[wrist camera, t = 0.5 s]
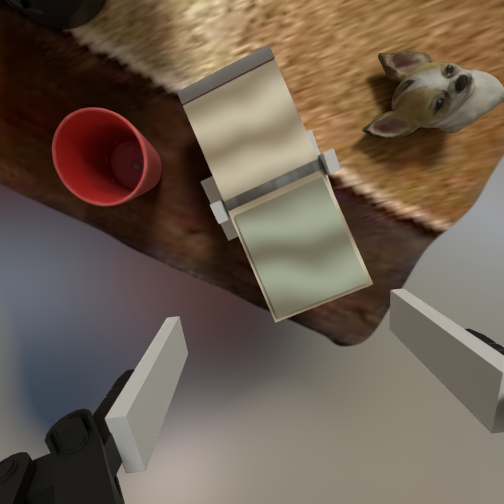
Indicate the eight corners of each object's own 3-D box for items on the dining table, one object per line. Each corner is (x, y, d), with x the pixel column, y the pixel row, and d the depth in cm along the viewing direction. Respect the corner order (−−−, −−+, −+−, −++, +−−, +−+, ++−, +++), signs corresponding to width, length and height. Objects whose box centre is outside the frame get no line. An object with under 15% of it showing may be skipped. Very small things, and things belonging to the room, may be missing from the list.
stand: (201, 181, 37) (182, 178, 26) (309, 131, 35) (335, 106, 25) (252, 287, 42) (252, 321, 31) (349, 247, 40) (385, 268, 29)
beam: (184, 104, 31) (176, 91, 28) (269, 60, 30) (268, 43, 27) (275, 317, 30) (275, 323, 28) (365, 281, 29) (374, 284, 26)
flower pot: (185, 185, 37) (163, 184, 28) (124, 212, 38) (83, 219, 29) (152, 116, 35) (116, 89, 25) (88, 147, 36) (30, 132, 26)
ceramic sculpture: (507, 139, 28) (380, 123, 28) (451, 152, 36) (353, 140, 37) (546, 32, 25) (405, 15, 26) (475, 72, 34) (370, 60, 34)
